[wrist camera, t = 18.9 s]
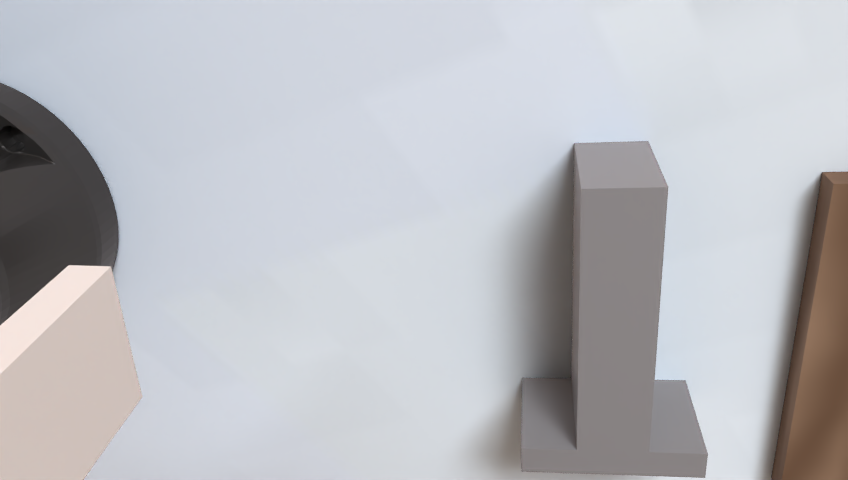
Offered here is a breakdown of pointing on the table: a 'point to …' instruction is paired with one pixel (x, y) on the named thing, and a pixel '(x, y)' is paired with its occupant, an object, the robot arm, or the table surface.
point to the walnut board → (820, 351)
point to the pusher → (614, 335)
